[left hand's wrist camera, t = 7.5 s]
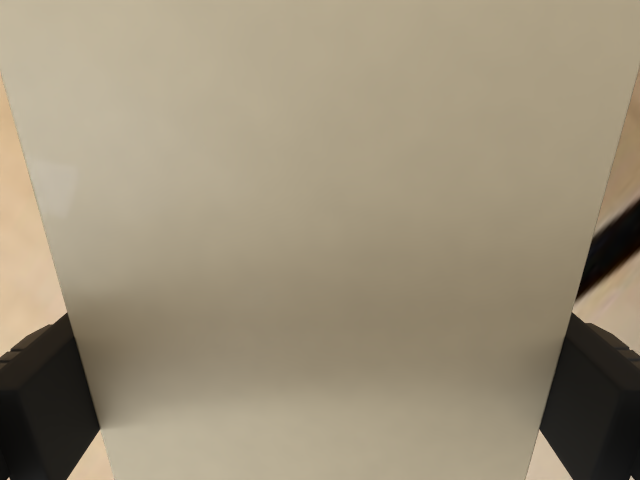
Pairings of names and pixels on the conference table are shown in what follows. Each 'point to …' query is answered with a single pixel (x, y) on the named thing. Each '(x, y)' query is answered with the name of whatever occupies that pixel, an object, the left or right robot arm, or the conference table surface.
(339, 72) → the cabinet
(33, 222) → the conference table surface
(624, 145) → the conference table surface
